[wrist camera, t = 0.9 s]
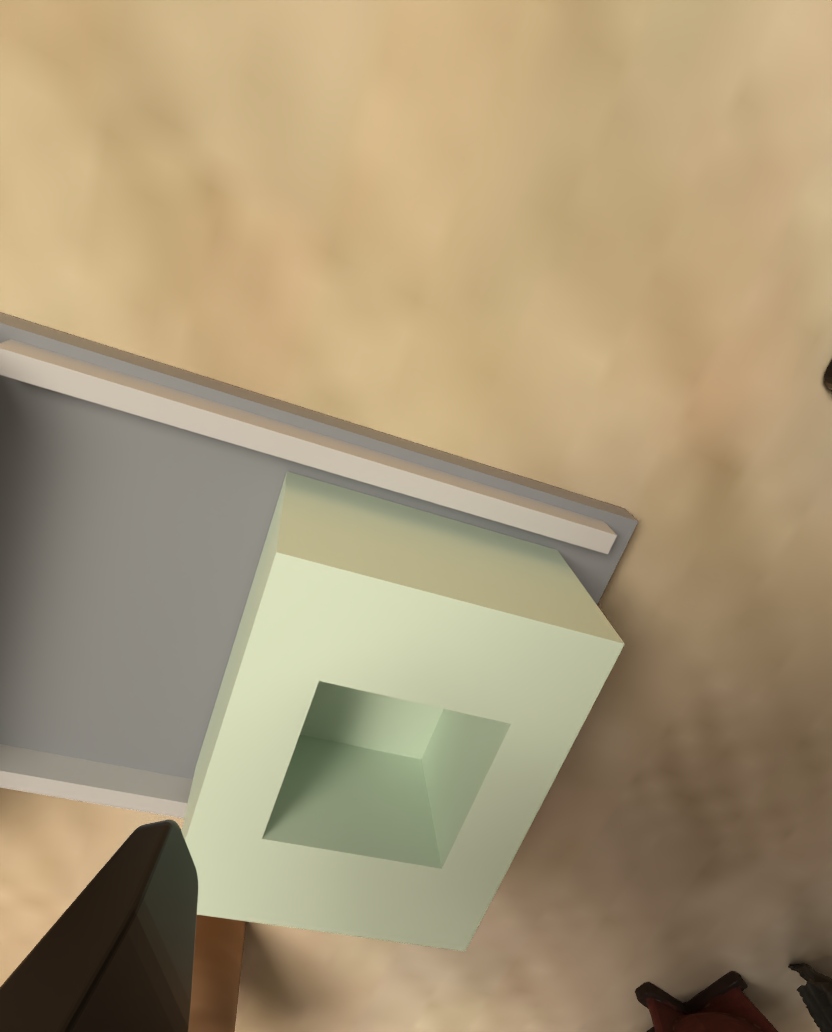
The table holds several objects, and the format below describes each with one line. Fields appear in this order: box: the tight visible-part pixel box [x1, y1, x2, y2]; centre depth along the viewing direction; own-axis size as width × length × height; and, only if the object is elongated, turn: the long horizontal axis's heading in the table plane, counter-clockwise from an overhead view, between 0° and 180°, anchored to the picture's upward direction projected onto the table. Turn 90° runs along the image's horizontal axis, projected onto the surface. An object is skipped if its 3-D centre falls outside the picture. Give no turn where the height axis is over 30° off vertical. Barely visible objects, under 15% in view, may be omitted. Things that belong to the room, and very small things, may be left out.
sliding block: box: [181, 471, 624, 952], centre depth 19 cm, size 8×10×5 cm
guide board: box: [0, 312, 638, 819], centre depth 19 cm, size 20×13×6 cm, turn 70°
